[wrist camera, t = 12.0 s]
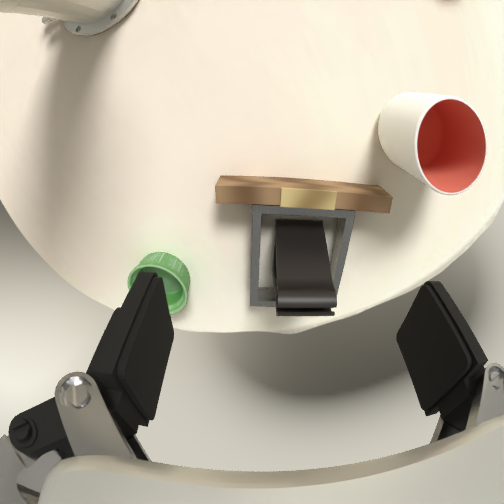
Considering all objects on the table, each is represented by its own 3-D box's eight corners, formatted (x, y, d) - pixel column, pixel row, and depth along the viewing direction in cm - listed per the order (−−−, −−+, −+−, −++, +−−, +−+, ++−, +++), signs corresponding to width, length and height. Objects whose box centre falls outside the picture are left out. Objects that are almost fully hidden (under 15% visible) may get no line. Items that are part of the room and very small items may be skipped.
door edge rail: (221, 191, 33) (215, 204, 30) (220, 175, 32) (214, 186, 29) (377, 201, 33) (389, 214, 29) (380, 186, 32) (393, 198, 28)
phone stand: (275, 218, 35) (280, 274, 25) (322, 219, 35) (344, 275, 25) (272, 276, 40) (274, 340, 29) (313, 276, 40) (327, 339, 29)
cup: (429, 175, 30) (472, 205, 22) (366, 157, 30) (402, 182, 22) (445, 107, 25) (494, 119, 17) (381, 81, 25) (424, 79, 16)
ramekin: (174, 305, 44) (167, 324, 40) (129, 273, 41) (118, 291, 37) (205, 273, 40) (199, 292, 36) (155, 236, 37) (144, 252, 33)
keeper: (251, 292, 41) (250, 305, 39) (253, 195, 34) (252, 204, 31) (329, 294, 41) (333, 307, 39) (348, 201, 33) (355, 211, 31)
